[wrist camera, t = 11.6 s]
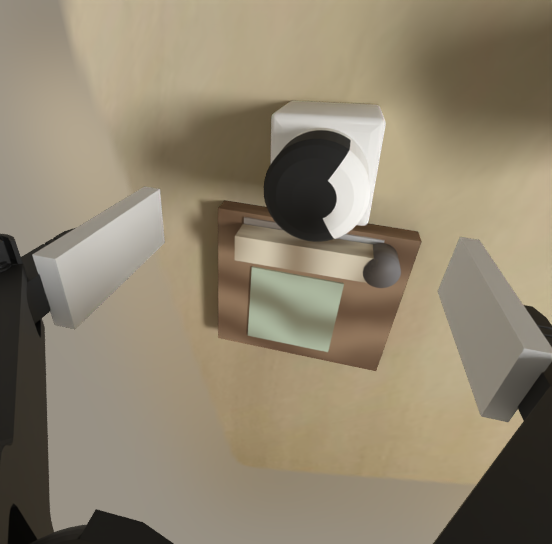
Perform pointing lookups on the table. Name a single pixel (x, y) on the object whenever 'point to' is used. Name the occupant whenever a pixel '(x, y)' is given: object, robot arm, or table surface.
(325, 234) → the medicine bottle
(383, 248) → the folding leg
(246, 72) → the table surface
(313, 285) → the brown wooden board
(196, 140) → the table surface
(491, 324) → the robot arm
